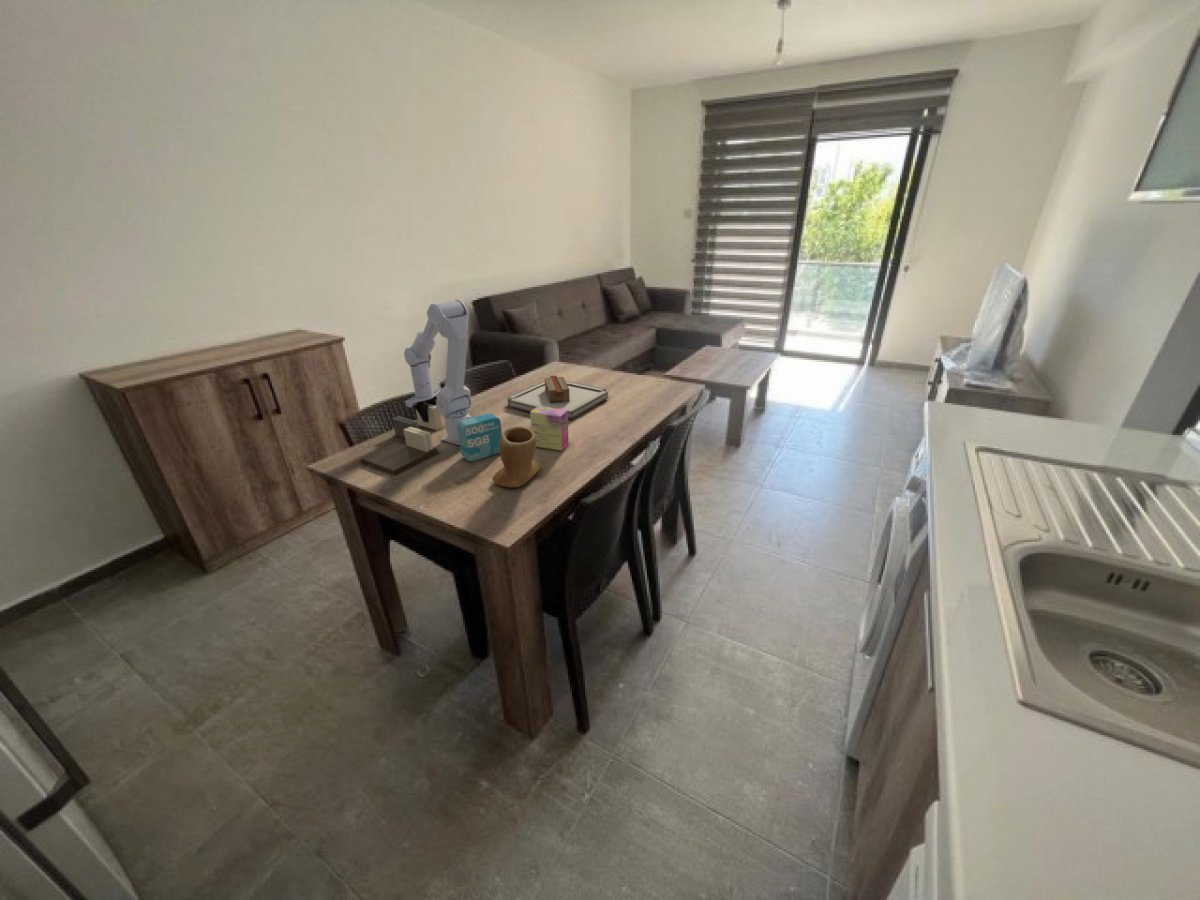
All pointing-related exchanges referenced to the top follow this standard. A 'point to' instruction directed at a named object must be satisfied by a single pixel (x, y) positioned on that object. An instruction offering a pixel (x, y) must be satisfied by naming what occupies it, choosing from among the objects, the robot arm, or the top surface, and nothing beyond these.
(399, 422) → the grey books
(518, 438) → the stone cup
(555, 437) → the box
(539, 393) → the grey square tray
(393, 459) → the shelf board
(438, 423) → the white book
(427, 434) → the cream books
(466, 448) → the data package
